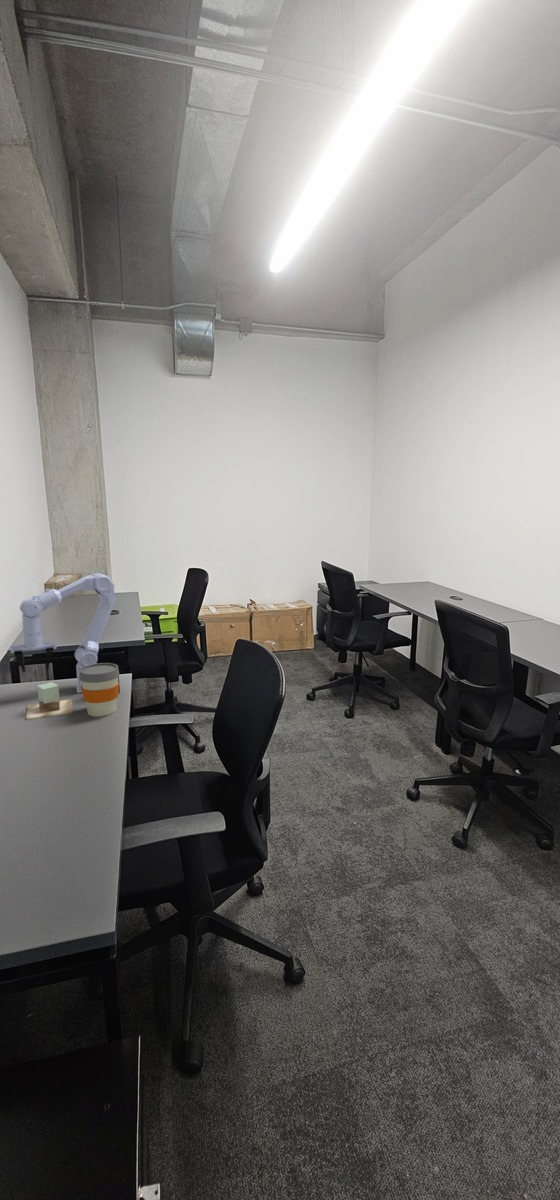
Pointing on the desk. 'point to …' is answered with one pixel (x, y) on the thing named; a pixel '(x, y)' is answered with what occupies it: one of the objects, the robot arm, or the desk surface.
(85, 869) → the desk surface
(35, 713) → the baseplate
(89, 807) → the desk surface
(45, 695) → the sage cube
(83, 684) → the reusable coffee cup
